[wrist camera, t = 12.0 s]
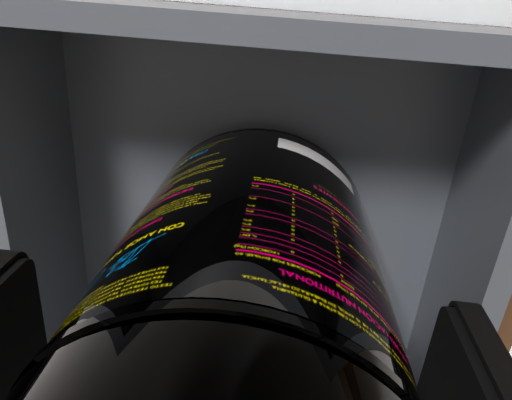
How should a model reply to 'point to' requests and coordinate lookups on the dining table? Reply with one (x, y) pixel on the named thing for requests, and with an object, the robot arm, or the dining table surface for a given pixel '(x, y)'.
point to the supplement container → (235, 289)
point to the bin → (259, 116)
